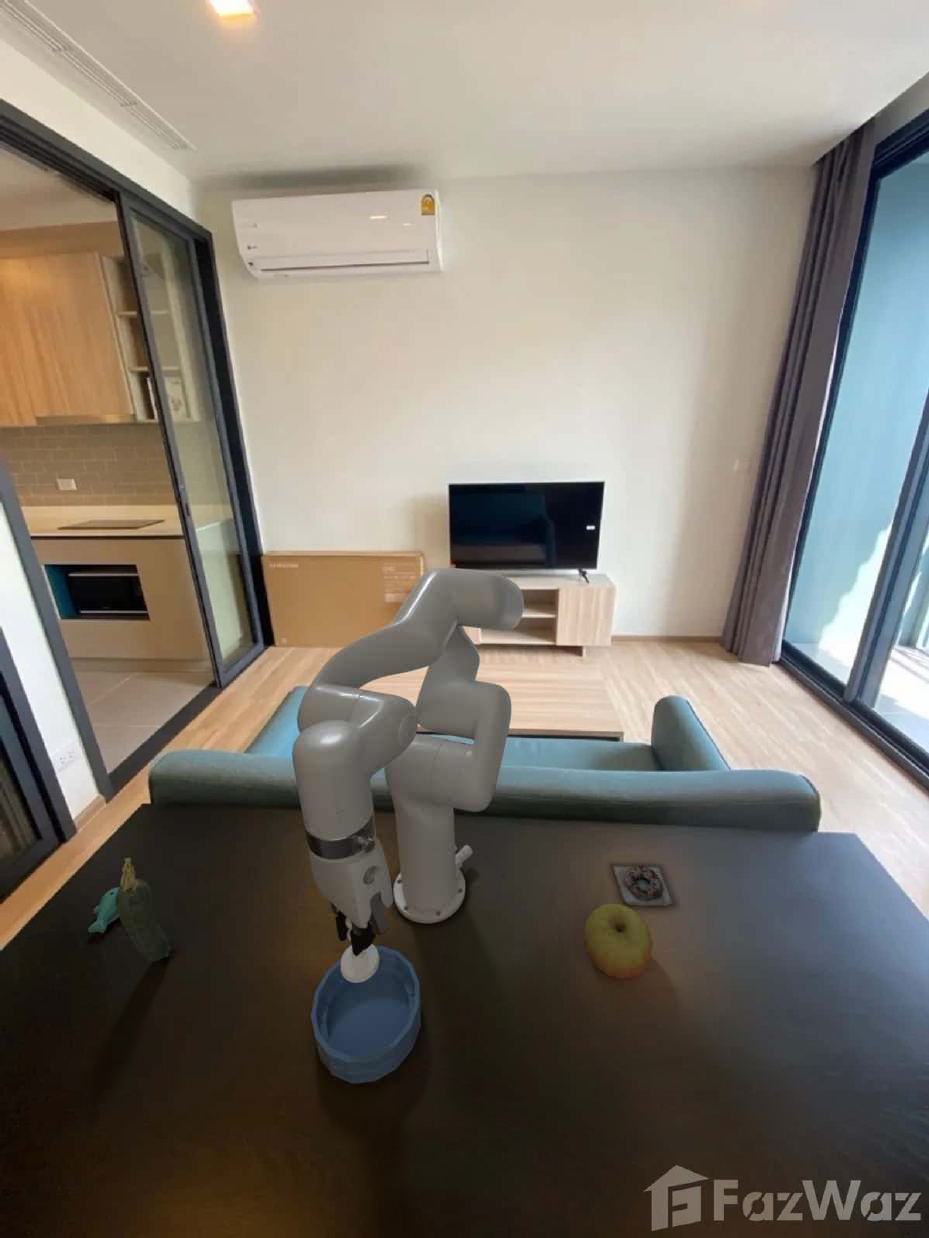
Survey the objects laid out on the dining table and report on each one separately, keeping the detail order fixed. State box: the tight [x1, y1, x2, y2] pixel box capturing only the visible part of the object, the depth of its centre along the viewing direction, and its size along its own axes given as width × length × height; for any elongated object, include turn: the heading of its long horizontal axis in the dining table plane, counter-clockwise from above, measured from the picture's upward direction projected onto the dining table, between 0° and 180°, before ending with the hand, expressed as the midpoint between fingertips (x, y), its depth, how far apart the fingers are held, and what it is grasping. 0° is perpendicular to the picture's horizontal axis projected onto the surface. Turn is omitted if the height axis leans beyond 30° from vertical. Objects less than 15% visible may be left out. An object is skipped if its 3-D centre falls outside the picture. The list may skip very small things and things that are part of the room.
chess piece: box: [340, 918, 379, 983], centre depth 62 cm, size 5×5×10 cm
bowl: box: [310, 945, 422, 1084], centre depth 68 cm, size 14×14×5 cm
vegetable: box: [115, 857, 171, 963], centre depth 73 cm, size 4×4×20 cm
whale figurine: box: [87, 886, 121, 934], centre depth 84 cm, size 6×7×4 cm
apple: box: [583, 902, 653, 980], centre depth 75 cm, size 10×10×8 cm
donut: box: [612, 863, 673, 907], centre depth 87 cm, size 8×8×2 cm
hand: (357, 938), depth 62 cm, fingers closed on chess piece
